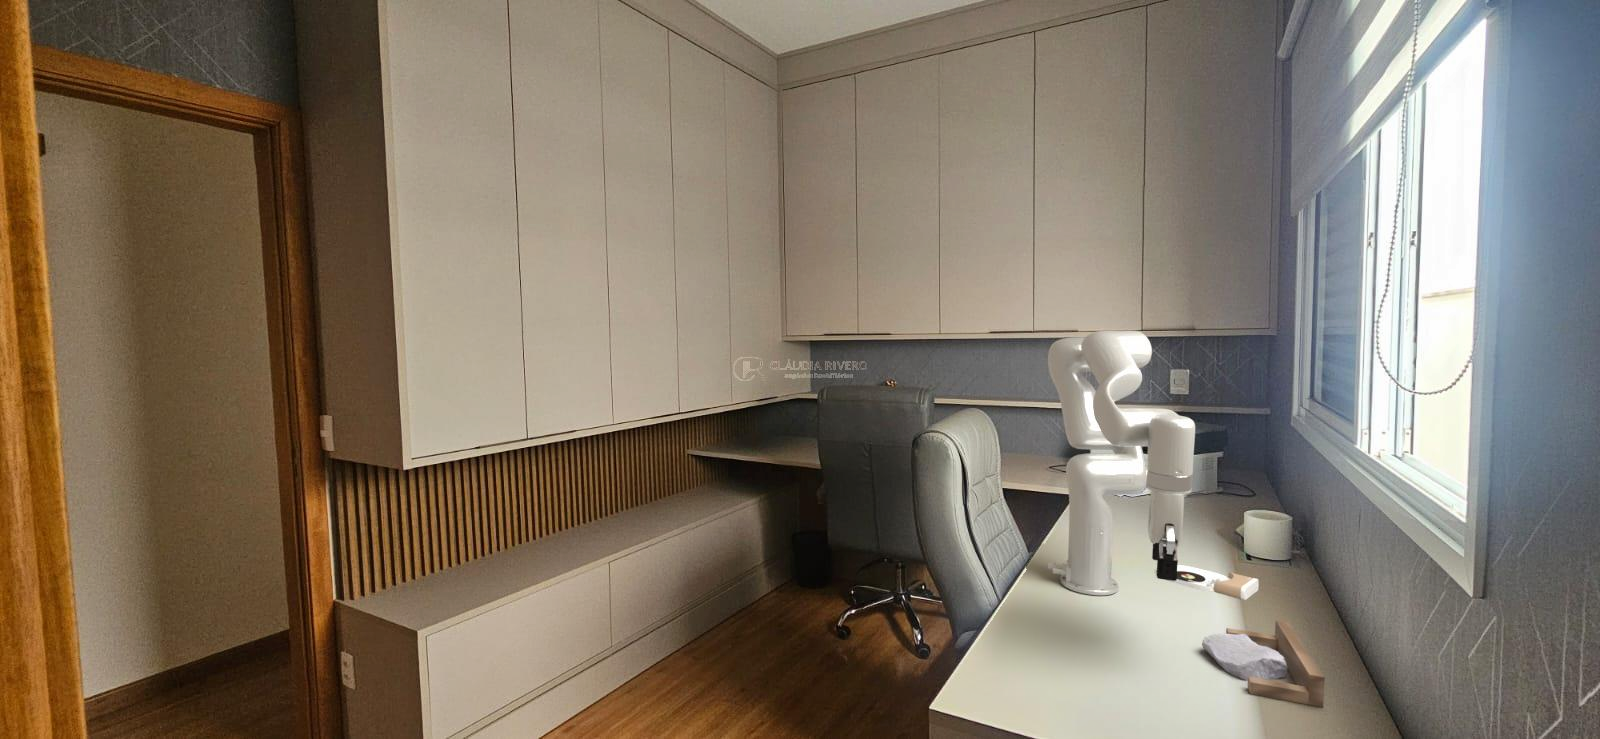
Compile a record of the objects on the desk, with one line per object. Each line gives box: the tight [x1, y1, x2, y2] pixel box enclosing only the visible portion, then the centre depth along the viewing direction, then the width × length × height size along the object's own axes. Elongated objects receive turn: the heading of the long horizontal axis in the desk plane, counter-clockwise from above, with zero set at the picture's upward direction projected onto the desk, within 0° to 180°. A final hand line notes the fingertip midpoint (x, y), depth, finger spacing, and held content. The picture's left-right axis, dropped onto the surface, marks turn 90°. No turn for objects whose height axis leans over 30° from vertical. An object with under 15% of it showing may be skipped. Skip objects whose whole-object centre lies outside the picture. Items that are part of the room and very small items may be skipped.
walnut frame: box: [1225, 620, 1326, 708], centre depth 120 cm, size 10×22×5 cm, turn 156°
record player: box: [1166, 564, 1260, 601], centre depth 161 cm, size 12×3×20 cm
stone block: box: [1201, 632, 1288, 682], centre depth 122 cm, size 12×5×10 cm
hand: (1163, 569), depth 127 cm, fingers open, 9 cm apart
